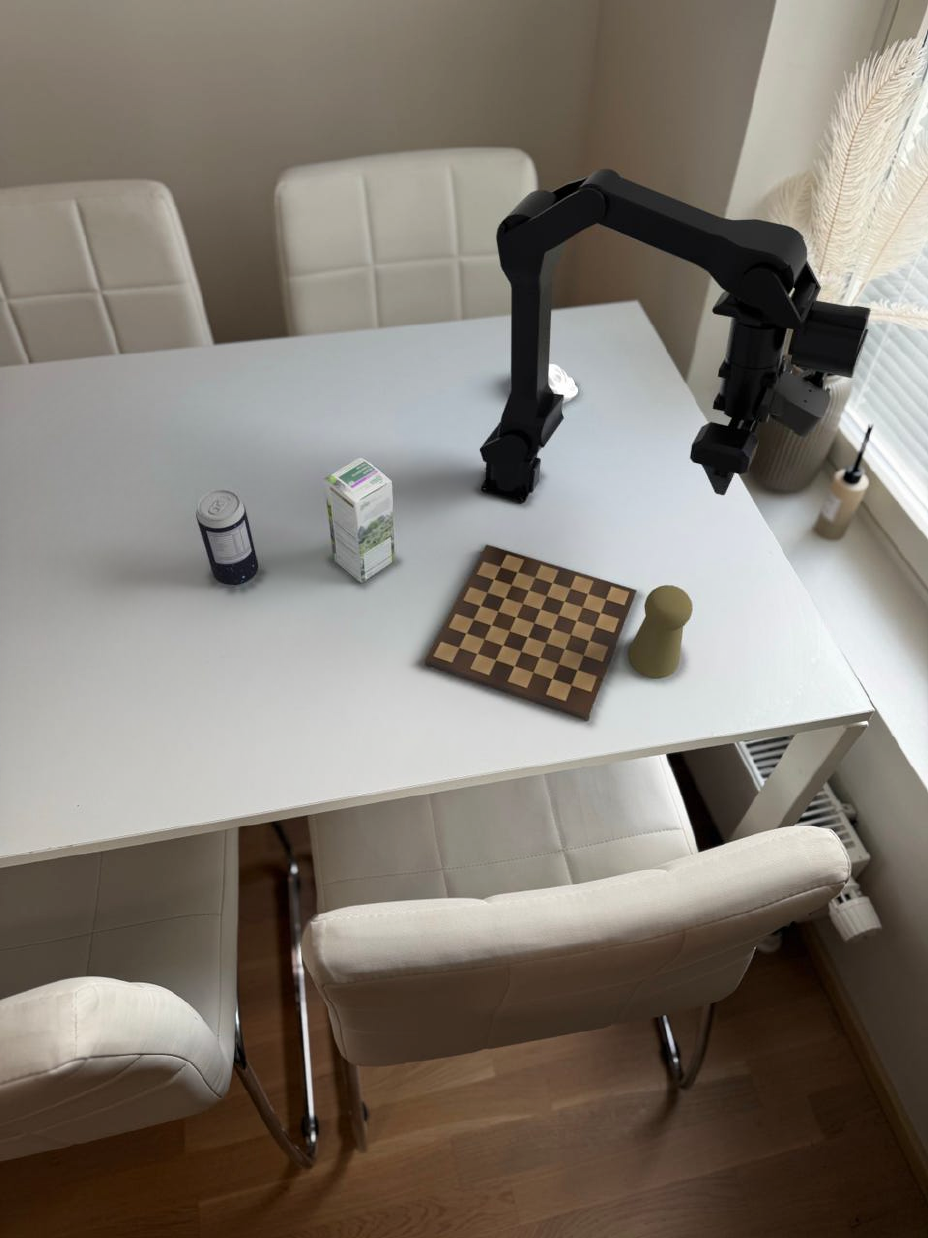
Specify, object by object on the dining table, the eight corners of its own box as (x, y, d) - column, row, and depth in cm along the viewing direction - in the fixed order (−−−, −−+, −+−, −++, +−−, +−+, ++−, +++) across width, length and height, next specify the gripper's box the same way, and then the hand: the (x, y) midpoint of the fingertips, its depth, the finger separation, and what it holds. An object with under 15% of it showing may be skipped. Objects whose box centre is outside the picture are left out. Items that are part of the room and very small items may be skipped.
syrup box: (366, 538, 120) (359, 453, 109) (397, 562, 118) (392, 478, 106) (332, 560, 118) (321, 475, 106) (363, 586, 115) (354, 502, 104)
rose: (514, 347, 140) (578, 348, 140) (512, 371, 143) (575, 373, 143) (515, 388, 133) (582, 389, 133) (513, 412, 137) (579, 414, 137)
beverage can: (267, 563, 117) (252, 494, 108) (246, 595, 114) (228, 526, 104) (227, 551, 118) (209, 482, 109) (205, 583, 115) (184, 514, 106)
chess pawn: (677, 682, 107) (698, 623, 98) (625, 673, 107) (641, 613, 99) (680, 642, 110) (700, 581, 102) (630, 633, 111) (645, 572, 103)
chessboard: (424, 665, 108) (424, 659, 107) (486, 549, 119) (486, 543, 118) (588, 721, 103) (589, 715, 102) (635, 595, 115) (637, 589, 114)
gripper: (810, 421, 89) (779, 539, 100) (852, 323, 99) (820, 440, 111) (697, 396, 93) (680, 512, 104) (749, 304, 103) (729, 419, 115)
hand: (731, 469), depth 108 cm, fingers open, 9 cm apart
